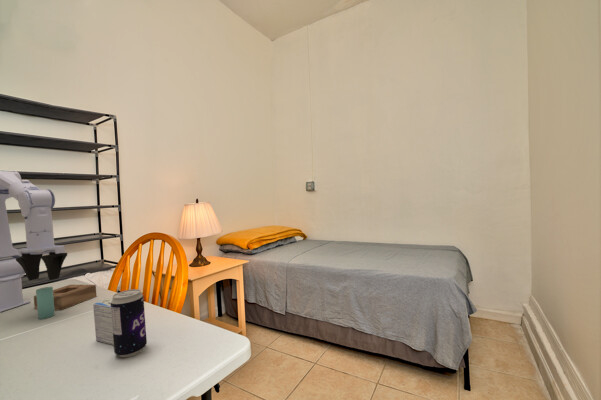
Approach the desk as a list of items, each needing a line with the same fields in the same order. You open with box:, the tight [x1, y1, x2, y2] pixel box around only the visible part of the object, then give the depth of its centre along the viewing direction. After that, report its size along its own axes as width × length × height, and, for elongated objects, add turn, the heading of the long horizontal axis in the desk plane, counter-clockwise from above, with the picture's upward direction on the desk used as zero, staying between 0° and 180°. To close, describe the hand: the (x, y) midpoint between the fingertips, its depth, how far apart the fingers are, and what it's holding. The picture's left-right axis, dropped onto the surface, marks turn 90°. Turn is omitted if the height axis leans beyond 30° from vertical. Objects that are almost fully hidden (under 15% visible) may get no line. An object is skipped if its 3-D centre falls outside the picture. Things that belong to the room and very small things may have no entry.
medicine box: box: [93, 296, 114, 346], centre depth 63 cm, size 8×4×9 cm, turn 65°
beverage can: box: [111, 288, 148, 358], centre depth 57 cm, size 6×6×12 cm
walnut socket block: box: [33, 284, 97, 311], centre depth 90 cm, size 11×11×4 cm
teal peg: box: [35, 286, 56, 320], centre depth 79 cm, size 4×4×8 cm
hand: (43, 279), depth 79 cm, fingers open, 7 cm apart
